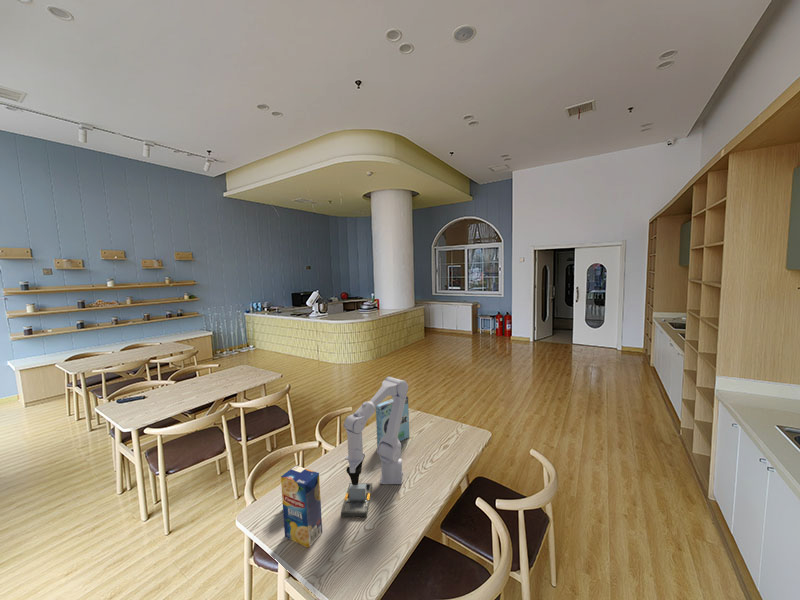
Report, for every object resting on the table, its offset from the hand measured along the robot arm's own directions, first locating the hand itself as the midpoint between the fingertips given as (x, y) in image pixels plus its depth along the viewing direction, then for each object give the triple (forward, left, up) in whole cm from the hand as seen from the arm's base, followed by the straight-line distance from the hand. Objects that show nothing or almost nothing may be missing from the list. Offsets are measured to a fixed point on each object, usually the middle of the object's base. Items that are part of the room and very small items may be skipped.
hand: (356, 479), depth 124 cm
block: (0, 0, -9) cm, 9 cm away
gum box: (-12, -44, -10) cm, 47 cm away
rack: (0, 0, -9) cm, 9 cm away
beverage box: (+16, +16, -10) cm, 25 cm away
